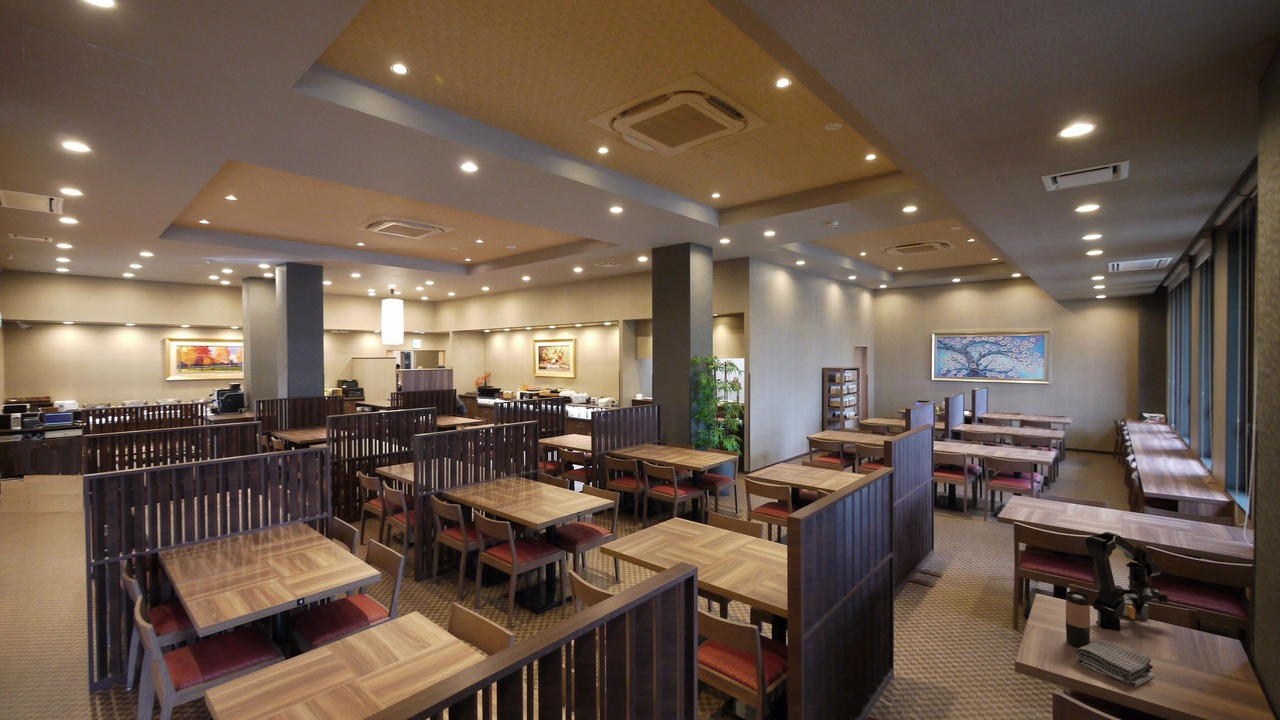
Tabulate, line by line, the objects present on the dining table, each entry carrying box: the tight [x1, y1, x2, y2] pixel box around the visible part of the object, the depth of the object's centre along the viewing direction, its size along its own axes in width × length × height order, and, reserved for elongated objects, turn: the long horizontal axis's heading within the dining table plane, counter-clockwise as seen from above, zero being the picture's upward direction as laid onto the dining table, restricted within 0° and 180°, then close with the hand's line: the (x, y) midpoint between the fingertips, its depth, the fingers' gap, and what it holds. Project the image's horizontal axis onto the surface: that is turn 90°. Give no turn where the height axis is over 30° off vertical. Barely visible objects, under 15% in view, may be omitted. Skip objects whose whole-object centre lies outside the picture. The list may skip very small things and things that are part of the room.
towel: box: [1075, 639, 1155, 688], centre depth 201 cm, size 15×18×8 cm
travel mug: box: [1065, 590, 1091, 649], centre depth 219 cm, size 8×8×20 cm
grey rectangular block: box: [1108, 604, 1136, 620], centre depth 242 cm, size 8×4×5 cm, turn 67°
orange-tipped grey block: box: [1103, 595, 1150, 620], centre depth 247 cm, size 15×10×7 cm, turn 67°
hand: (1137, 612), depth 239 cm, fingers closed
